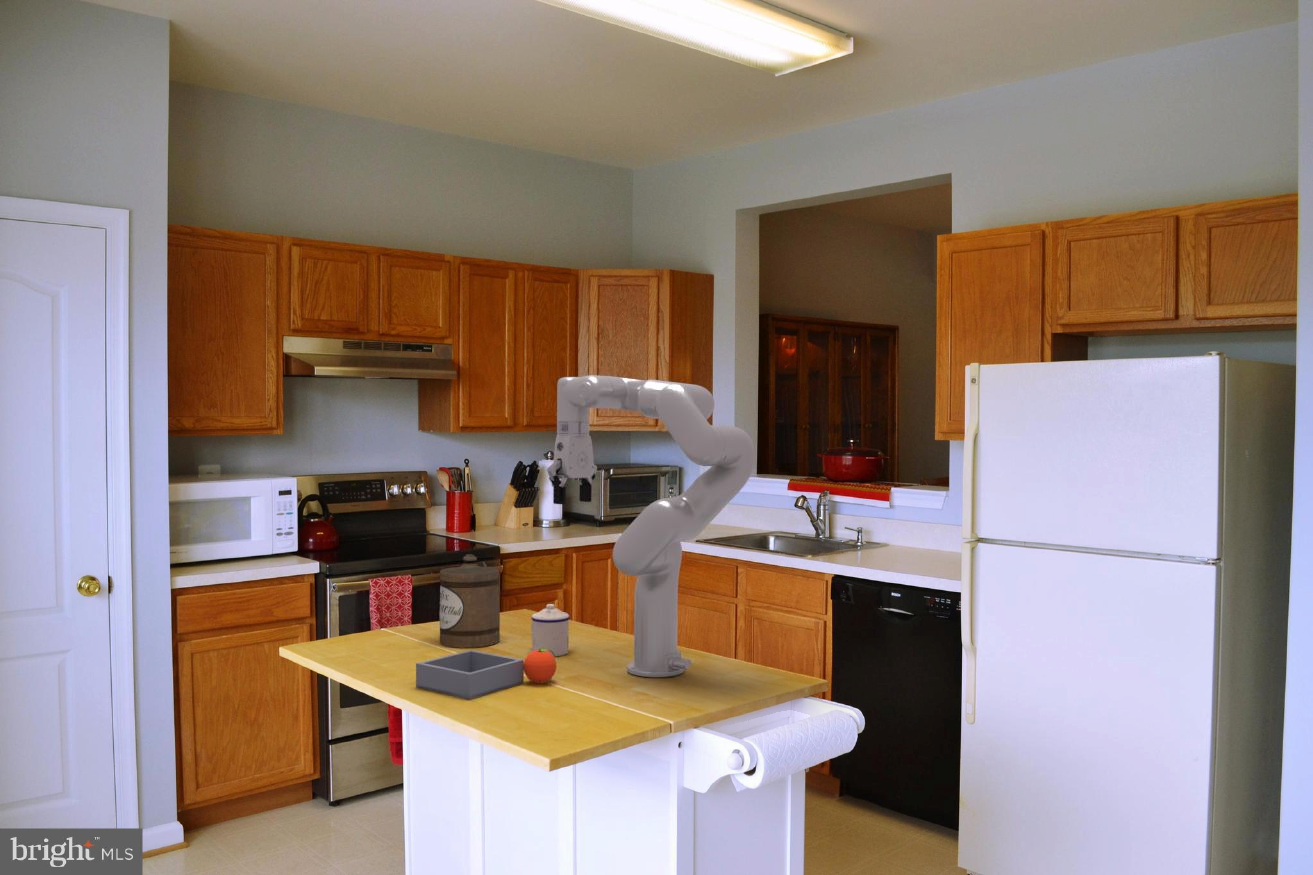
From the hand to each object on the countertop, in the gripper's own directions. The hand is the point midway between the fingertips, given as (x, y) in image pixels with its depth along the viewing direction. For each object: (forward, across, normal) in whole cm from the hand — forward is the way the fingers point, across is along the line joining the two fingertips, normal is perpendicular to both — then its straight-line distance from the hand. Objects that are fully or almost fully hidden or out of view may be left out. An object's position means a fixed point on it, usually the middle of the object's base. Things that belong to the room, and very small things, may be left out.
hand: (572, 502), depth 234 cm
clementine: (+36, -22, -9) cm, 43 cm away
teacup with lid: (+36, +1, +8) cm, 37 cm away
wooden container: (+37, -2, +31) cm, 48 cm away
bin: (+36, -32, +1) cm, 49 cm away
